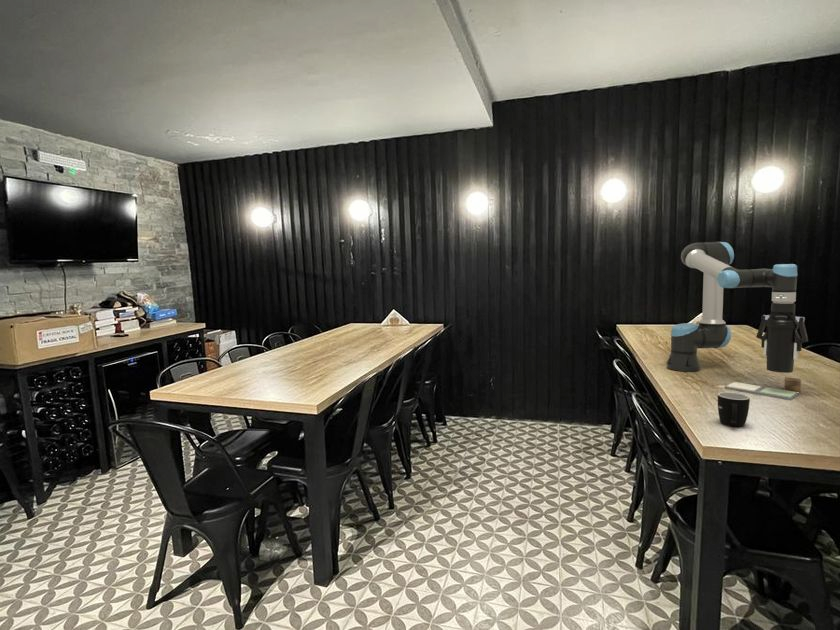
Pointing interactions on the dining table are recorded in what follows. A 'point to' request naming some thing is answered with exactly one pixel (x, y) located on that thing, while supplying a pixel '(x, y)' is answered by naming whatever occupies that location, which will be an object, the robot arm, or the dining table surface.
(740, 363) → the dining table surface
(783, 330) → the black travel mug
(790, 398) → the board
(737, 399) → the mug
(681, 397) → the dining table surface
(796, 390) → the walnut block
